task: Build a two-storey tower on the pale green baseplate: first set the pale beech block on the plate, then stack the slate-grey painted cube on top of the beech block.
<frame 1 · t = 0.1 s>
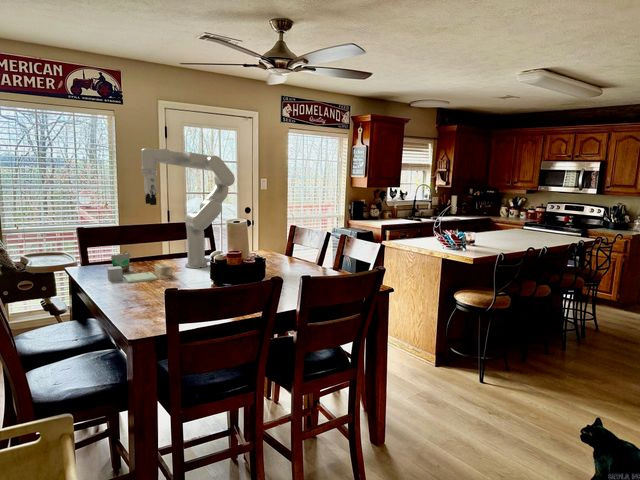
hand: (150, 204, 237), 37 cm above the table, tool pointing down, fingers open, 9 cm apart
baseplate: (140, 278, 226), on the table
food container: (124, 271, 240), on the table
grey cube: (115, 279, 223), on the table
beech block: (163, 276, 232), on the table
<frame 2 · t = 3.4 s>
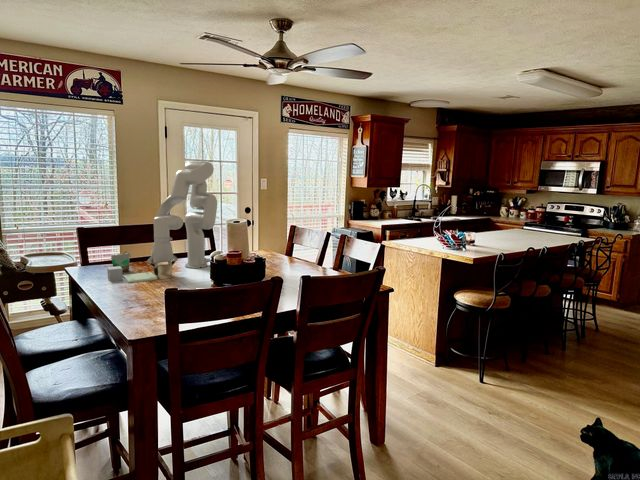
hand: (163, 274, 231), 1 cm above the table, tool pointing down, fingers closed on beech block, 6 cm apart
beech block: (163, 276, 231), on the table, touching gripper
everything else where it was.
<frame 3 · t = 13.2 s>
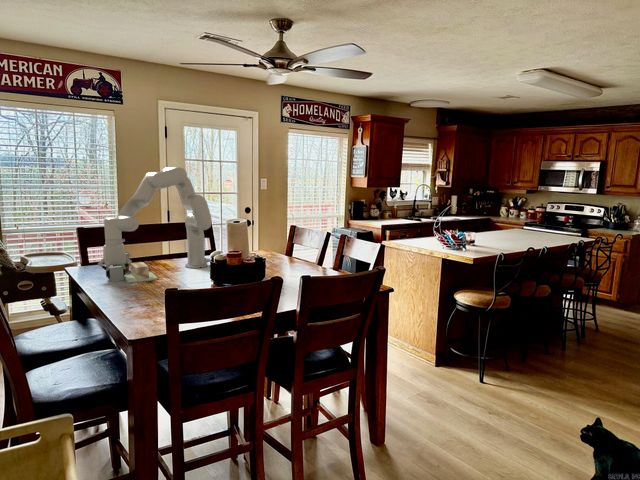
hand: (116, 276, 223), 1 cm above the table, tool pointing down, fingers closed on grey cube, 6 cm apart
grey cube: (116, 279, 224), on the table, touching gripper
beech block: (140, 276, 226), point 1 cm above the table, touching baseplate
everything else where it was.
when the fingers open (10 cm above the table, at t = 18.2 s): grey cube drops 1 cm, resting on beech block.
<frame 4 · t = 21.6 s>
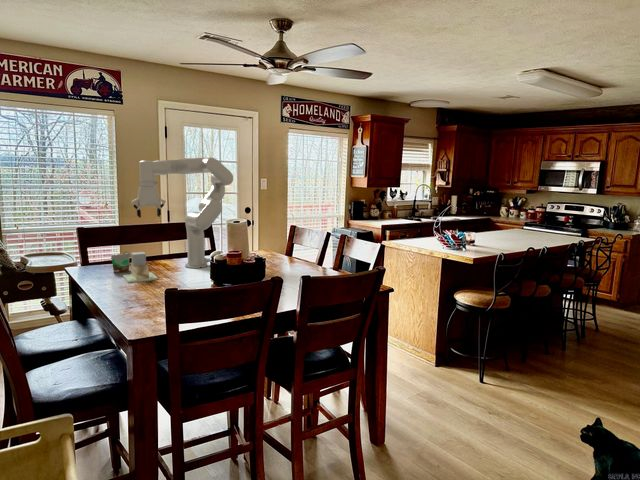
hand: (149, 216, 234), 30 cm above the table, tool pointing down, fingers open, 9 cm apart
grey cube: (139, 264, 225), point 7 cm above the table, touching beech block
beech block: (140, 276, 226), point 1 cm above the table, touching baseplate, grey cube
everything else where it was.
at the end: beech block inside the target area on the baseplate (0.1 cm from its centre), point 1.0 cm above the baseplate's base; grey cube 0.4 cm from the beech block (horizontally); grey cube point 7.0 cm above the table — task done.
